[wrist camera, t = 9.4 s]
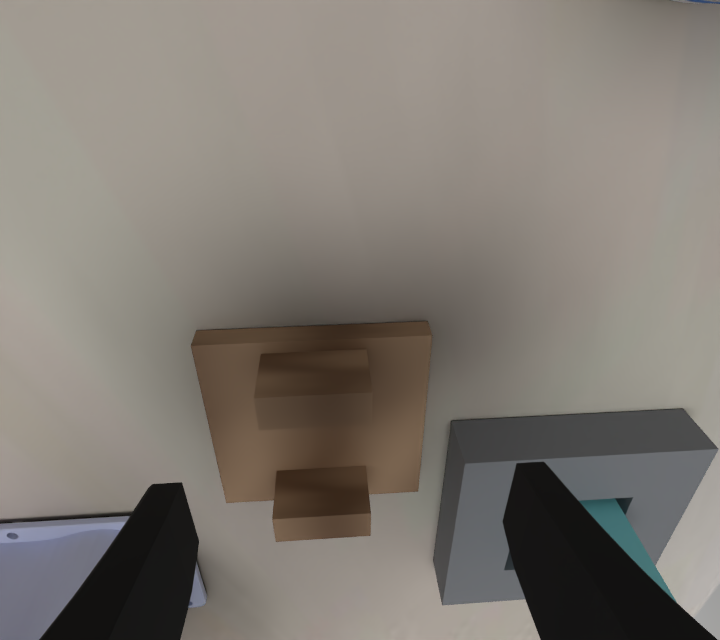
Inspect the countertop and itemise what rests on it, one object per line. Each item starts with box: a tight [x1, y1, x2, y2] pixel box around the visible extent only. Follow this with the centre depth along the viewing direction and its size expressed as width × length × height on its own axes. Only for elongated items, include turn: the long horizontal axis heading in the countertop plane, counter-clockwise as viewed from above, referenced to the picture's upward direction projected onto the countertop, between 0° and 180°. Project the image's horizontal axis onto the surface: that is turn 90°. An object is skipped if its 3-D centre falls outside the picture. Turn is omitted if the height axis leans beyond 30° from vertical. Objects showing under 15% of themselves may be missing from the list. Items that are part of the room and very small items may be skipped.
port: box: [433, 409, 718, 605], centre depth 25 cm, size 11×11×3 cm
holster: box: [191, 321, 432, 542], centre depth 21 cm, size 9×9×4 cm
